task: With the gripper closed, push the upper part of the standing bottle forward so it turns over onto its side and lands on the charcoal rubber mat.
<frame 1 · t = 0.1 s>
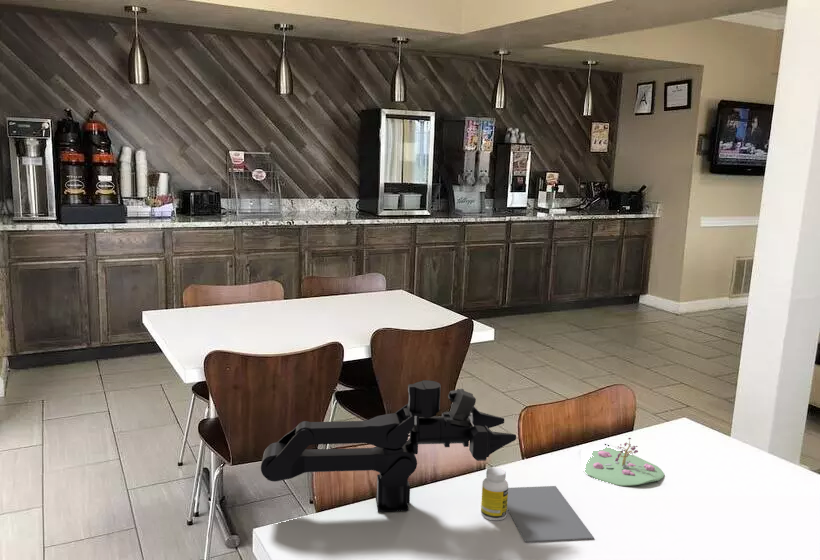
hand: (509, 428, 143), 17 cm above the table, tool horizontal, fingers open, 9 cm apart
mat: (541, 512, 141), on the table
supplement bottle: (493, 515, 139), on the table
plant: (614, 466, 166), on the table
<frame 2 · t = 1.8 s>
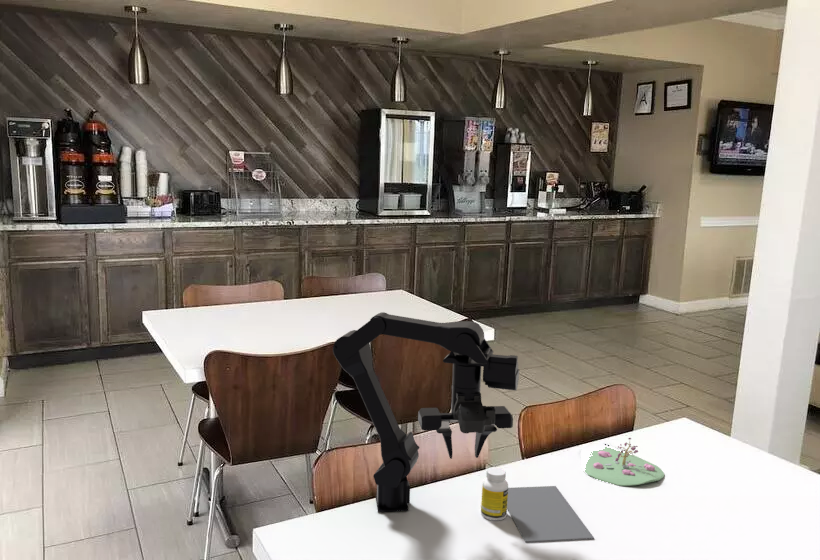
hand: (463, 457, 136), 13 cm above the table, tool pointing down, fingers open, 5 cm apart
nothing on the table moved.
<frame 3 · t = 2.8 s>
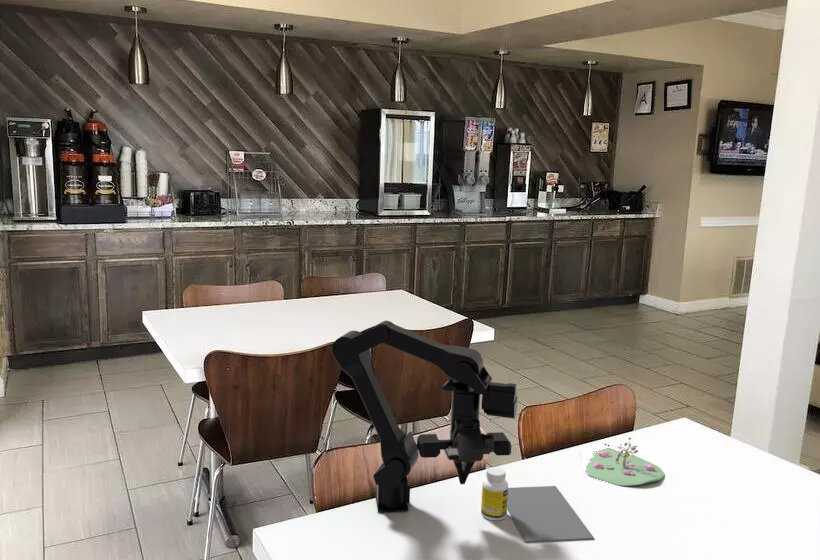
hand: (462, 483, 137), 7 cm above the table, tool pointing down, fingers closed
nothing on the table moved.
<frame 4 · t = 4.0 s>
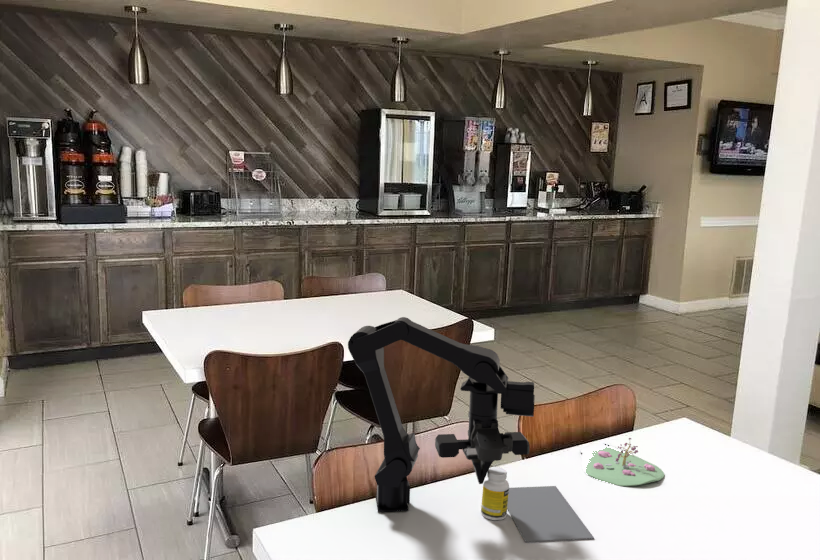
hand: (480, 483, 138), 7 cm above the table, tool pointing down, fingers closed
supplement bottle: (493, 515, 139), on the table, touching gripper
everything else where it was.
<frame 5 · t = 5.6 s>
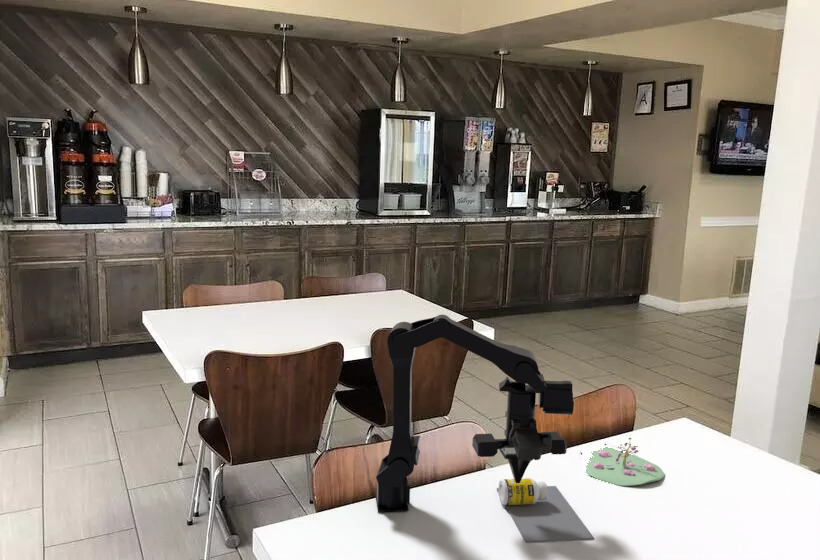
hand: (517, 482, 139), 7 cm above the table, tool pointing down, fingers closed
supplement bottle: (500, 492, 143), point 3 cm above the table, touching mat
everything else where it was.
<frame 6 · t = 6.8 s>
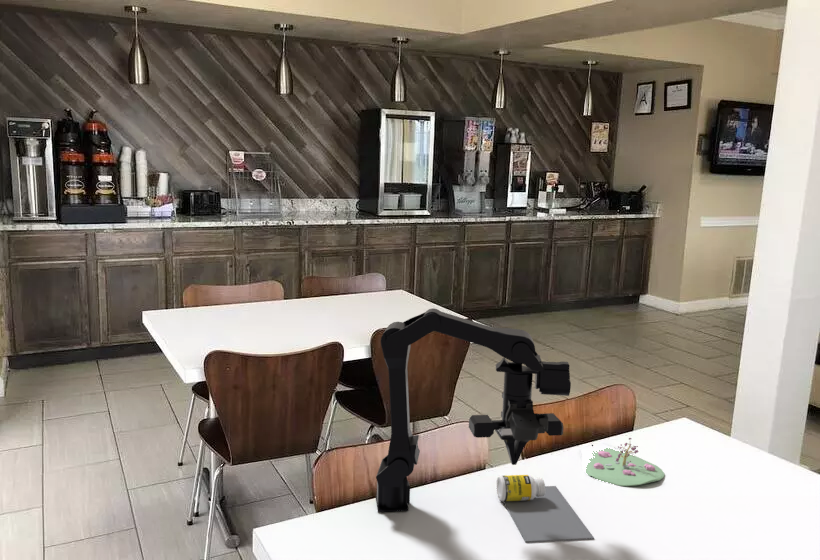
hand: (513, 464, 138), 11 cm above the table, tool pointing down, fingers closed
supplement bottle: (498, 488, 144), point 3 cm above the table, touching mat
everything else where it was.
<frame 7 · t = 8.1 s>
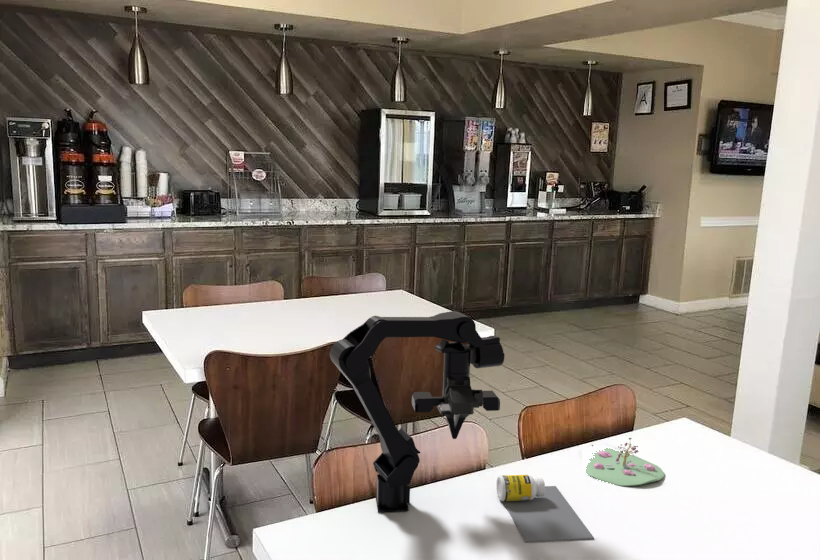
hand: (454, 438, 146), 13 cm above the table, tool pointing down, fingers closed
nothing on the table moved.
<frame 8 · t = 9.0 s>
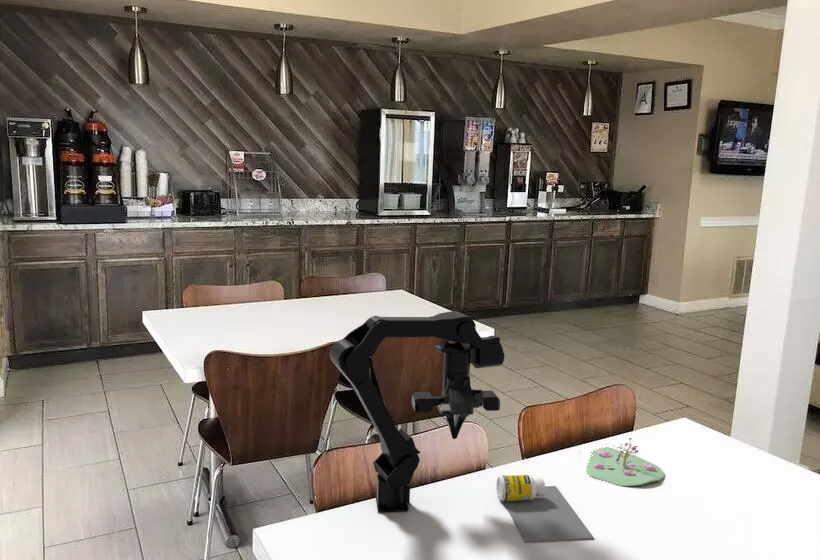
hand: (454, 438, 146), 13 cm above the table, tool pointing down, fingers closed
nothing on the table moved.
at the end: supplement bottle tilted 90°; supplement bottle touching mat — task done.
